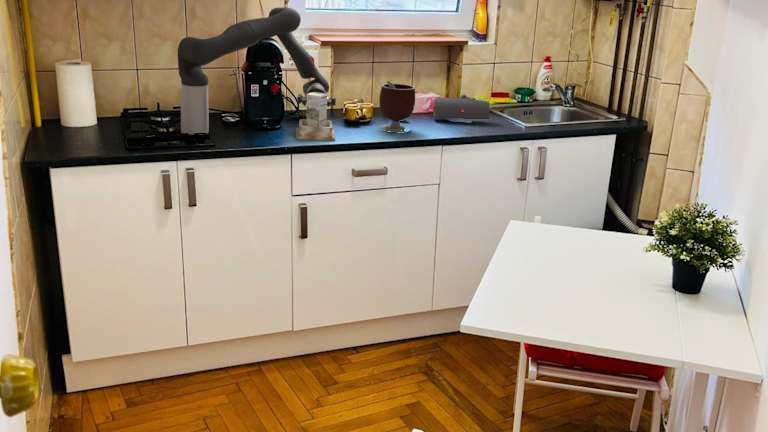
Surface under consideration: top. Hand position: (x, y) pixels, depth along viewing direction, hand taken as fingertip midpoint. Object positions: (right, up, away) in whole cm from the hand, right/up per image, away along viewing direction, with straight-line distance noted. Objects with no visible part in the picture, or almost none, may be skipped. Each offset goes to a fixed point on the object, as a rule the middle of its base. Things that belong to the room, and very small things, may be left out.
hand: (316, 103), depth 282 cm
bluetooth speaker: (+57, -2, +43) cm, 72 cm away
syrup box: (-1, -11, +2) cm, 11 cm away
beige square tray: (-1, -11, +2) cm, 12 cm away
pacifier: (+31, -2, +37) cm, 49 cm away
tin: (+13, -2, +34) cm, 36 cm away
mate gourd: (+29, -8, +20) cm, 36 cm away
